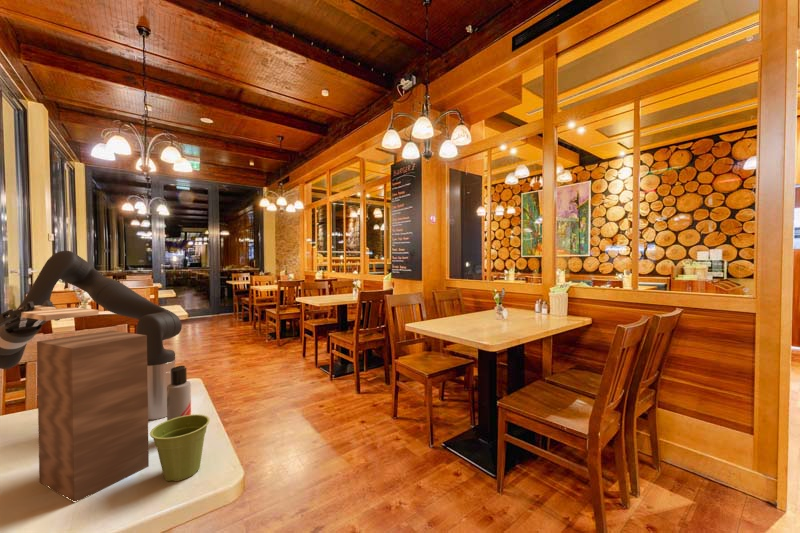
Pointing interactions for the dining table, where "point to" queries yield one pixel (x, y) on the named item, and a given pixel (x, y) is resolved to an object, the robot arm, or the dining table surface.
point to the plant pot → (180, 445)
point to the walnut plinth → (92, 411)
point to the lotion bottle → (178, 394)
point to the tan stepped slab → (57, 313)
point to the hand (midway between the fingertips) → (40, 303)
